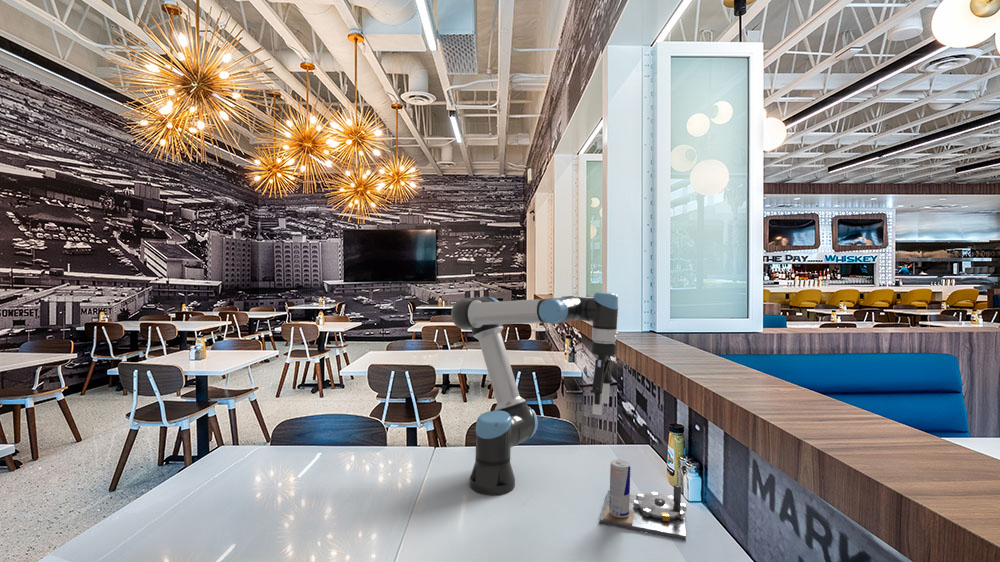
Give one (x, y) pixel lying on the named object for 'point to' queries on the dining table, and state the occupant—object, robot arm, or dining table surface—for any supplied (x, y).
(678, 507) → the index wheel
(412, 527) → the dining table surface
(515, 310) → the robot arm
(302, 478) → the dining table surface
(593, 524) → the dining table surface
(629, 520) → the marked pad
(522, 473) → the dining table surface
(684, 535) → the base plate
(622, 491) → the beverage can
